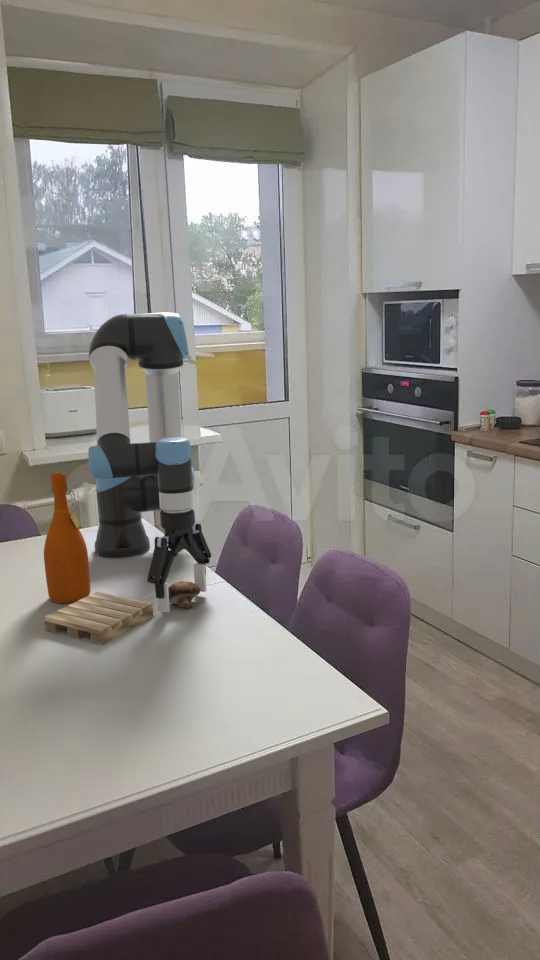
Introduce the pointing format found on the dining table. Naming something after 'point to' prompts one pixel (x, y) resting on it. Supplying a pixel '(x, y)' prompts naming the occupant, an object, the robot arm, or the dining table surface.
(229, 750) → the dining table surface
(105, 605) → the pallet
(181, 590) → the mushroom
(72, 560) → the wine bottle
